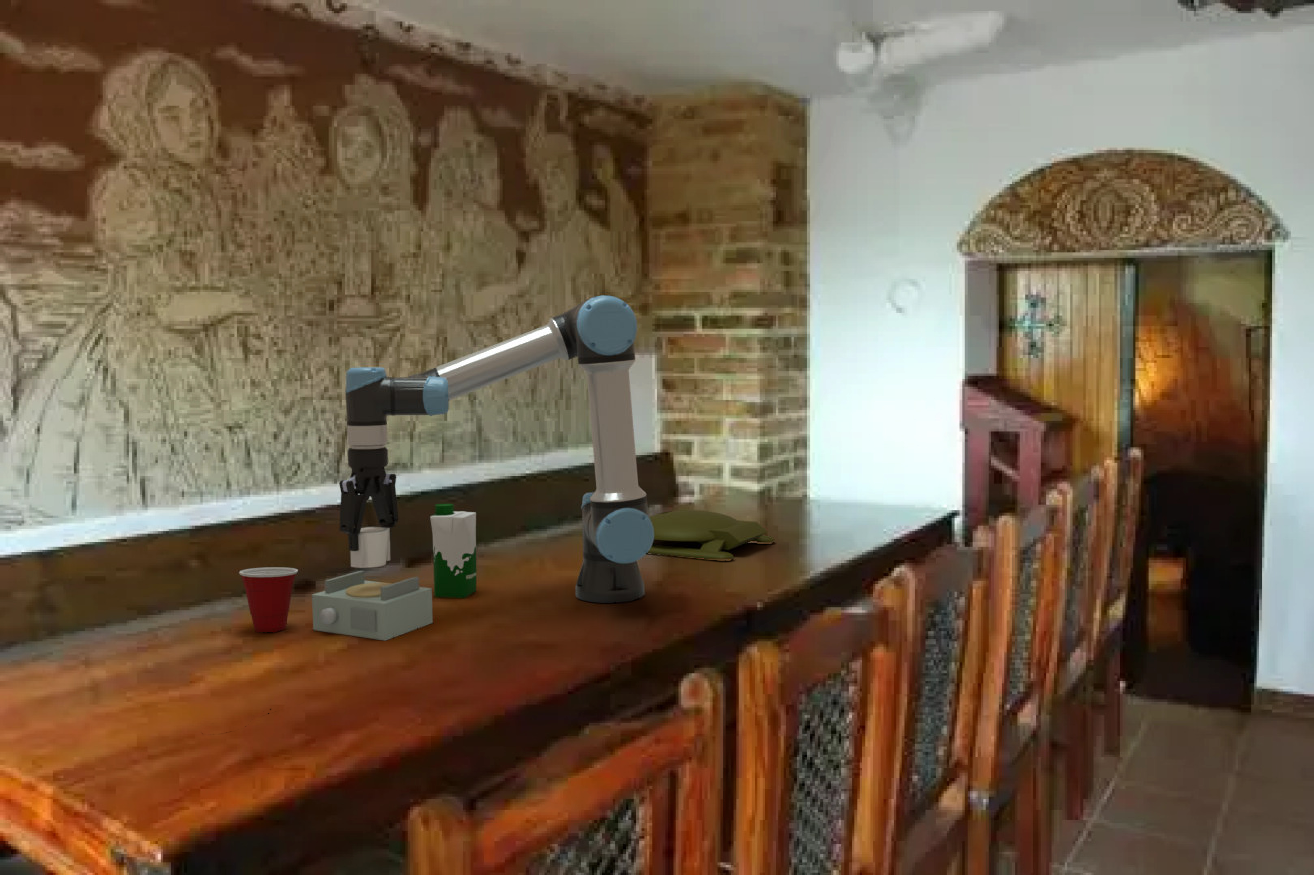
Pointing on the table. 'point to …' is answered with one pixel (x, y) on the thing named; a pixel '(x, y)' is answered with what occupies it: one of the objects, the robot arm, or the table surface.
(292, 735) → the table surface
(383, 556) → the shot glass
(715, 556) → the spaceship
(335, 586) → the portable stove
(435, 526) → the milk carton
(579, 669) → the table surface
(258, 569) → the plastic cup
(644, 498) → the robot arm
